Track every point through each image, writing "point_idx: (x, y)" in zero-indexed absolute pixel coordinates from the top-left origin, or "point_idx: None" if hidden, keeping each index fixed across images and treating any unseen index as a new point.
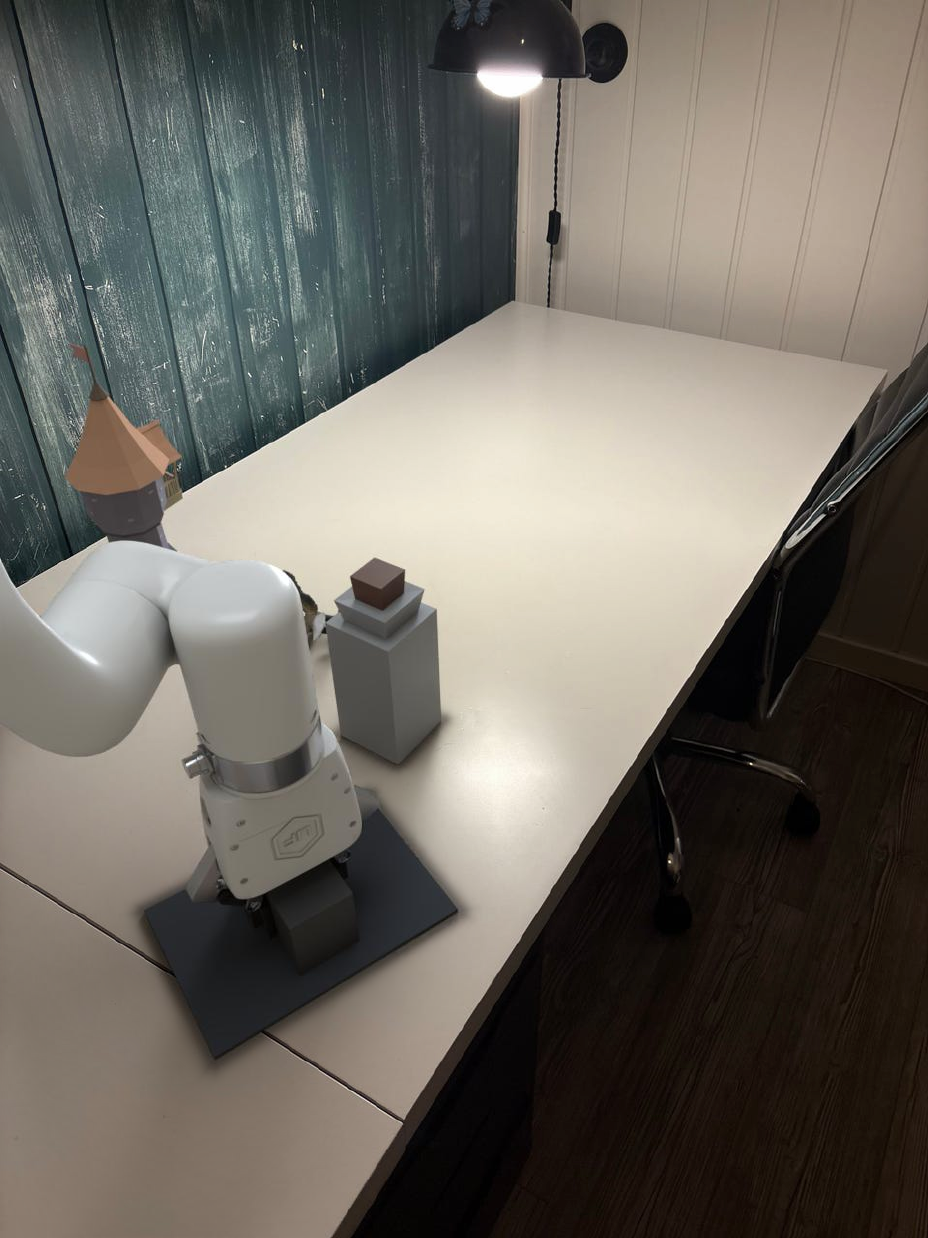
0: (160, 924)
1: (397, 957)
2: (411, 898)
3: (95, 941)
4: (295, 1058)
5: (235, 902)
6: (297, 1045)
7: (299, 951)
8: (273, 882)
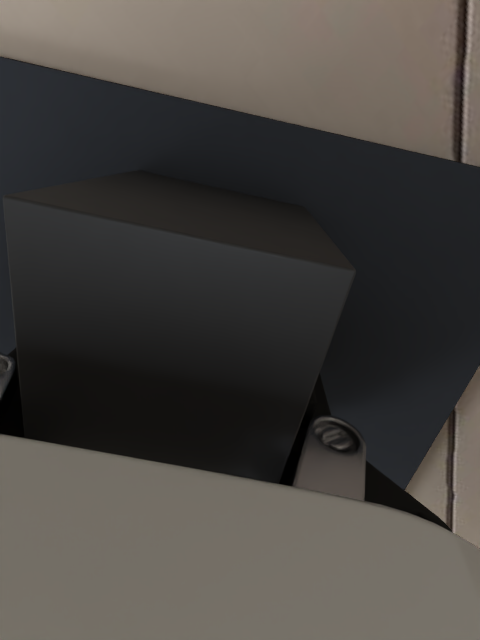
0: (395, 480)
1: (84, 50)
2: None
3: (472, 516)
4: (477, 21)
5: (387, 489)
6: (443, 52)
7: (306, 223)
8: (321, 545)
